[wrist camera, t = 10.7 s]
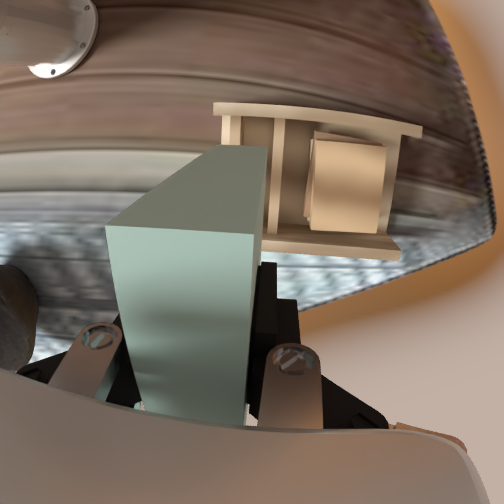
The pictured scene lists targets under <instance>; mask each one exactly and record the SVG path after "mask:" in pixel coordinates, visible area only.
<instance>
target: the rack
mask: <svg viewBox="0 0 504 504" xmlns="http://www.w3.org/2000/svg"><path fill="white" fill-rule="evenodd" d="M213 115H222V141H221V145H244V146H262V147H268V151H267V167H266V183H265V199H264V214H263V229H262V244H261V251H268V252H282V253H296V254H310V255H323V256H337V257H351V258H365V259H378V260H392V261H399V259H400V254H401V250H400V248H399V247H398V246H397V245H396V244H395V242H394V241H393V240H392V239H391V237H390V236H389V235H388V234H387V233H386V230H387V225H388V220H389V214H390V209H391V203H392V197H393V191H394V185H395V178H396V172H397V165H398V157H399V149H400V141H401V134H403V135H408V136H413V137H418V138H421V137H422V128H423V127H422V126H418V125H414V124H409V123H404V122H399V121H394V120H389V119H384V118H378V117H373V116H367V115H360V114H354V113H347V112H340V111H332V110H324V109H316V108H306V107H295V106H283V105H269V104H250V103H214V107H213ZM314 130H315V131H321V132H327V133H333V134H339V135H344V136H350V137H355V138H360V139H365V140H370V141H374V142H379V143H382V144H383V146H384V147H387V151H386V162H385V172H384V181H383V190H382V198H381V205H380V213H379V219H378V226H377V233H360V232H341V231H320V230H311V229H310V225H309V223H310V221H307V217H304V216H303V206H304V199H305V193H306V186H307V180H308V168H309V138H313V137H314Z"/></svg>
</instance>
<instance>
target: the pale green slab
mask: <svg viewBox="0 0 504 504" xmlns="http://www.w3.org/2000/svg"><path fill="white" fill-rule="evenodd" d="M267 151H268V147H262V146H244V145H219V144H217V145H216V146H214V147H213V148H211V149H210V150H208V151H207V152H205V153H204V154H202V155H201V156H199V157H198V158H196V159H195V160H193V161H192V162H190V163H189V164H187V165H186V166H184V167H183V168H181V169H180V170H179V171H177V172H176V173H174V174H173V175H171V176H170V177H169V178H167V179H166V180H164V181H163V182H162V183H160V184H159V185H157V186H156V187H155V188H153V189H152V190H150V191H149V192H148V193H146V194H145V195H144V196H142V197H141V198H140V199H138V200H137V201H136V202H134V203H133V204H132V205H130V206H129V207H128V208H127V209H125V210H124V211H123V212H121V213H120V214H119V215H118V216H116V217H115V218H114V219H112V220H111V221H110V222H109V223H107V224H106V225H105V229H106V236H107V244H108V251H109V257H110V264H111V270H112V276H113V282H114V287H115V293H116V298H117V303H118V308H119V313H120V318H121V322H122V327H123V331H124V335H125V340H126V344H127V348H128V352H129V356H130V360H131V364H132V367H133V371H134V375H135V378H136V382H137V385H138V389H139V392H140V395H141V399H142V402H143V405H144V408H145V411H148V412H153V413H158V414H164V415H169V416H175V417H181V418H188V419H194V420H202V421H209V422H217V423H225V424H235V425H246V415H247V406H248V404H246V394H247V378H248V362H249V346H250V332H251V322H252V313H253V304H254V295H255V286H256V276H257V267H258V265H260V259H261V244H262V229H263V214H264V199H265V183H266V167H267Z"/></svg>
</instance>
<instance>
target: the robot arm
mask: <svg viewBox="0 0 504 504" xmlns="http://www.w3.org/2000/svg"><path fill="white" fill-rule="evenodd" d="M97 29H98V12H97V9H96V6H95V4H94V3H93V2H92V1H91V0H0V65H5V66H28V68H29V69H30V71H31V72H32V73H33V74H34V75H36V76H38V77H41V78H57V77H60V76H63V75H65V74H67V73H68V72H70V71H72V70H73V69H74V68H75V67H76V66H77V65H79V63H80V62H81V61H82V60H83V59H84V58H85V56H86V55H87V53H88V52H89V50H90V48H91V46H92V44H93V42H94V40H95V37H96V34H97ZM320 368H321V367H320V360H319V357H318V355H317V354H316V353H315V352H314V351H313V350H312V349H310V348H309V347H306V346H304V345H301V341H300V330H299V320H298V308H297V300H294V299H279V298H277V263H274V262H261V266H260V265H258V267H257V276H256V286H255V295H254V304H253V313H252V322H251V332H250V346H249V362H248V378H247V394H246V404H250V407H249V414H251V415H252V416H254V417H255V418H256V419H257V420H258V424H257V426H246V425H235V424H225V423H217V422H209V421H202V420H194V419H188V418H181V417H175V416H169V415H164V414H158V413H153V412H148V411H143V410H140V408H141V402H140V401H142V399H141V395H140V392H139V389H138V385H137V382H136V378H135V375H134V371H133V367H132V364H131V360H130V356H129V352H128V348H127V344H126V340H125V335H124V331H123V327H122V322H121V318H120V313H119V314H118V316H117V317H116V319H115V320H114V322H113V323H112V324H111V323H105V322H100V323H95V324H92V325H89V326H87V327H86V328H84V329H83V330H82V331H81V332H80V333H79V334H78V336H77V337H76V339H75V341H74V342H73V344H72V345H71V347H70V348H69V350H68V351H66V352H63V353H60V354H57V355H54V356H51V357H48V358H45V359H42V360H39V361H36V362H34V363H31V364H28V365H26V366H23V367H22V368H21V369H19V370H18V371H17V372H16V373H15V371H14V370H10V371H8V370H5V369H2V368H0V504H490V502H489V499H488V496H487V493H486V490H485V487H484V485H483V482H482V480H481V478H480V475H479V473H478V471H477V469H476V468H475V466H474V464H473V462H472V461H471V459H470V457H469V456H468V455H467V449H466V447H465V445H464V443H463V442H462V441H460V440H459V439H458V438H456V437H453V436H450V435H446V434H442V433H437V432H433V431H429V430H424V429H421V428H417V427H413V426H410V425H406V424H402V423H398V422H397V423H396V425H391V424H388V422H387V420H386V419H385V417H384V416H383V415H381V413H379V412H378V411H377V410H375V409H373V408H372V407H370V406H369V405H367V404H365V403H364V402H362V401H361V400H359V399H358V398H356V397H355V396H353V395H351V394H350V393H349V392H347V391H345V390H344V389H342V388H341V387H339V386H338V385H336V384H335V383H333V382H332V381H330V380H329V379H327V378H326V377H324V376H323V375H321V369H320Z"/></svg>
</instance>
